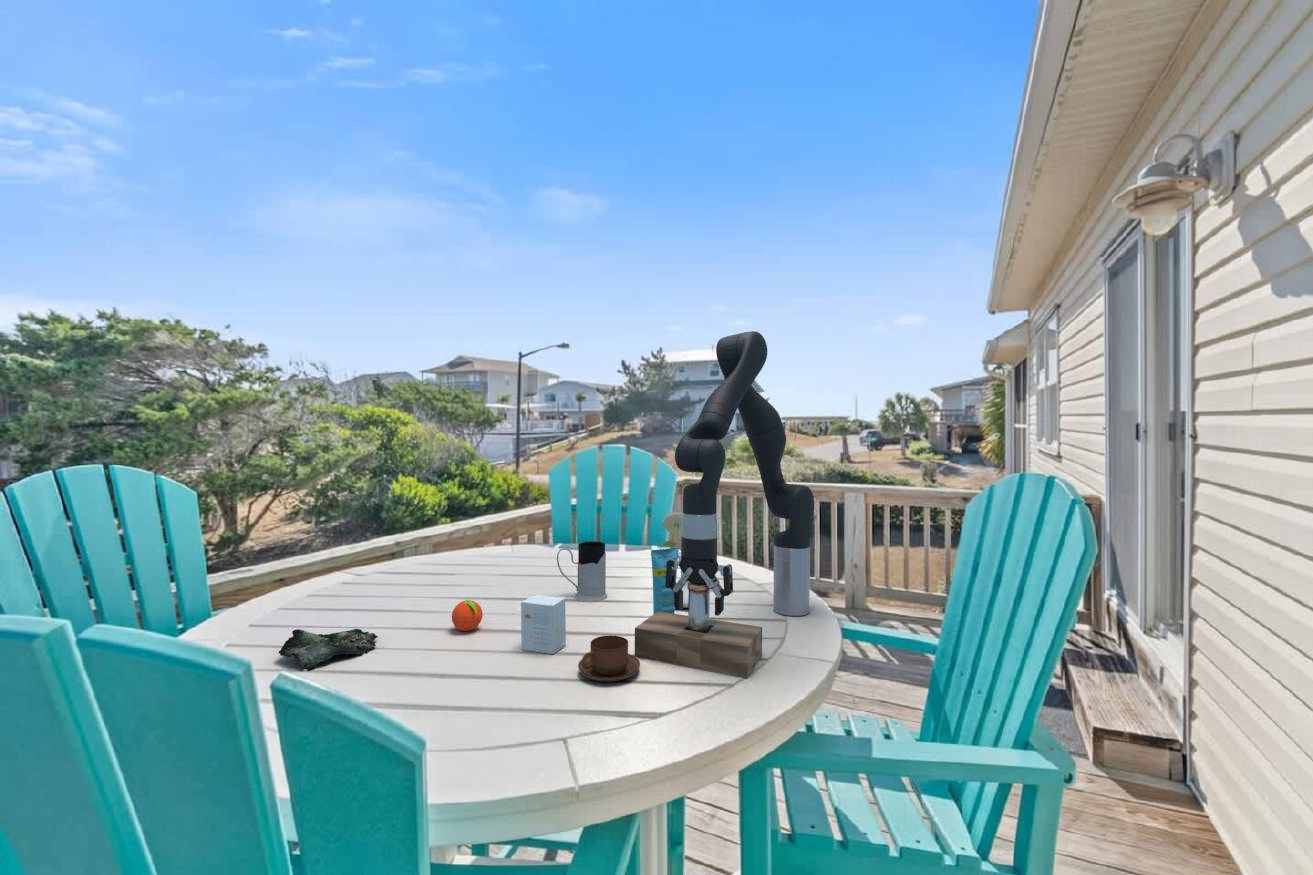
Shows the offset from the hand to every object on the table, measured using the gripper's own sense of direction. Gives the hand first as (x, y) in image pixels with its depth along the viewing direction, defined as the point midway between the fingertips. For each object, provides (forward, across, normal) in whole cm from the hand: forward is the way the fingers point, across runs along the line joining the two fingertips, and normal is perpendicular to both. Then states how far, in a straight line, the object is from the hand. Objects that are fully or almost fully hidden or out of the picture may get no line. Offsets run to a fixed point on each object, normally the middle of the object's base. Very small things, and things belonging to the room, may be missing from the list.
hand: (698, 611), depth 118 cm
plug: (+8, 0, 0) cm, 8 cm away
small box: (+10, +32, +10) cm, 35 cm away
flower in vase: (+9, +16, -31) cm, 36 cm away
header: (+9, 0, 0) cm, 9 cm away
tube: (+9, +13, -12) cm, 20 cm away
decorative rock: (+10, +71, +30) cm, 78 cm away
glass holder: (+10, +44, -25) cm, 51 cm away
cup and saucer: (+10, +13, +15) cm, 22 cm away
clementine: (+10, +54, +9) cm, 55 cm away
